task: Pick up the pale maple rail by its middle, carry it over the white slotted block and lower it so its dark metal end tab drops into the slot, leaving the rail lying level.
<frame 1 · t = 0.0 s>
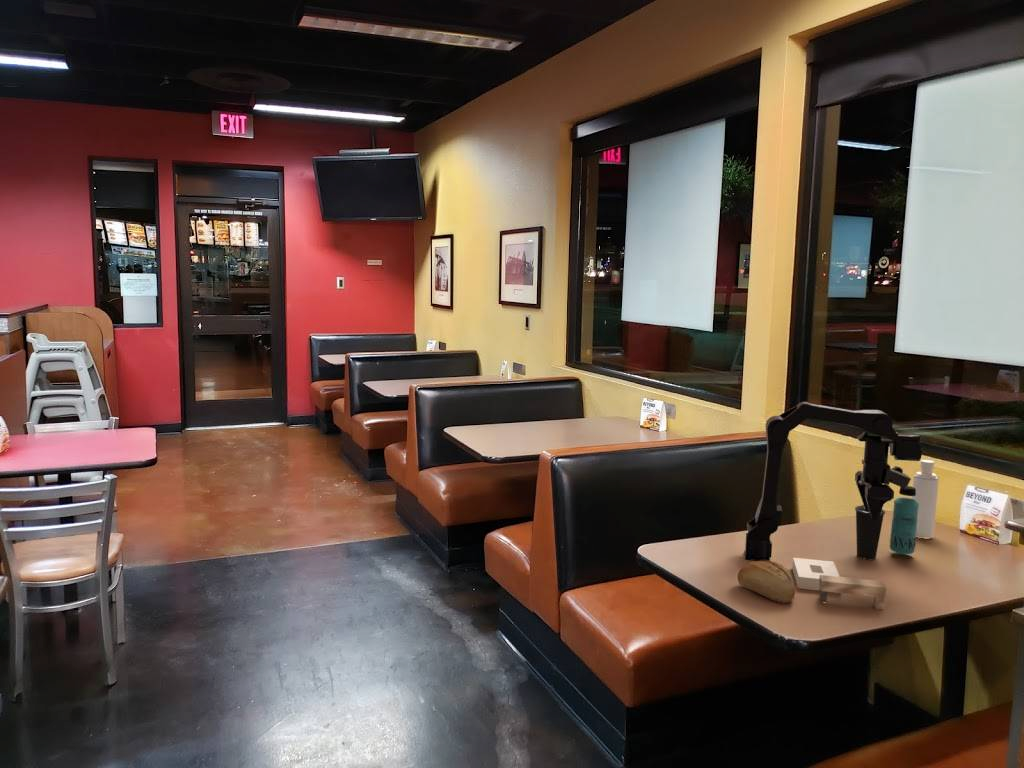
hand: (871, 515, 202), 15 cm above the table, tool pointing down, fingers open, 9 cm apart
white slotted block: (815, 580, 195), on the table
bread roll: (765, 595, 186), on the table
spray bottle: (920, 536, 232), on the table
rail: (850, 603, 181), on the table
drinking cup: (866, 557, 213), on the table
beverage bottle: (901, 556, 215), on the table
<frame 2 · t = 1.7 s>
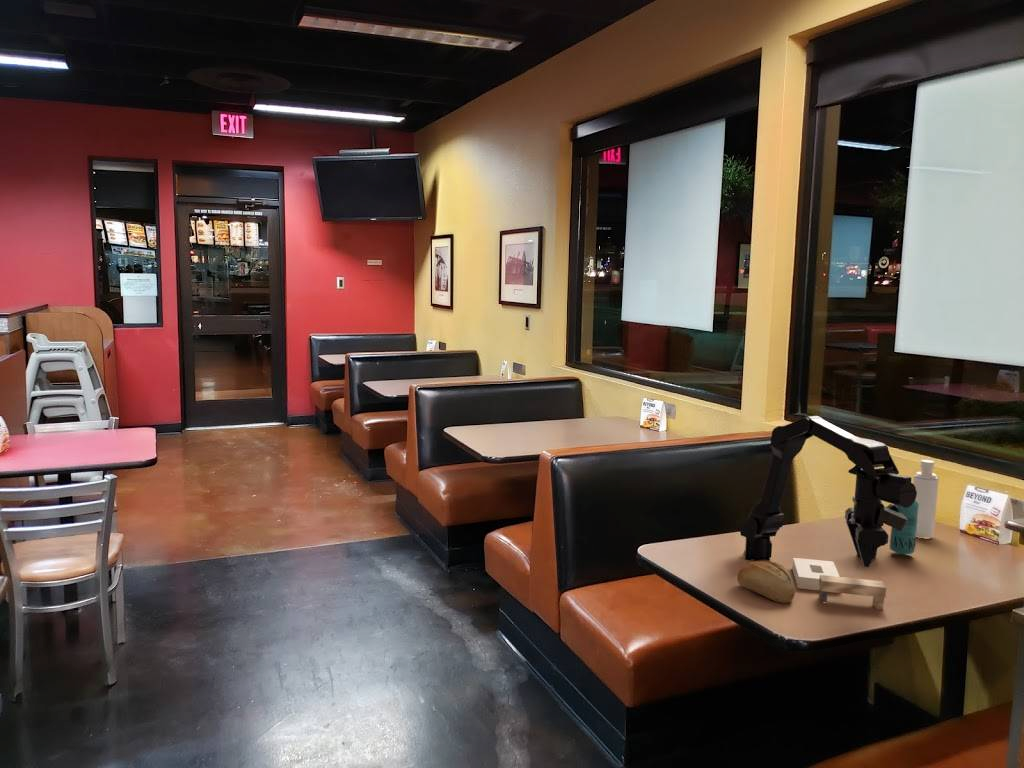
hand: (862, 559, 179), 11 cm above the table, tool pointing down, fingers open, 9 cm apart
nothing on the table moved.
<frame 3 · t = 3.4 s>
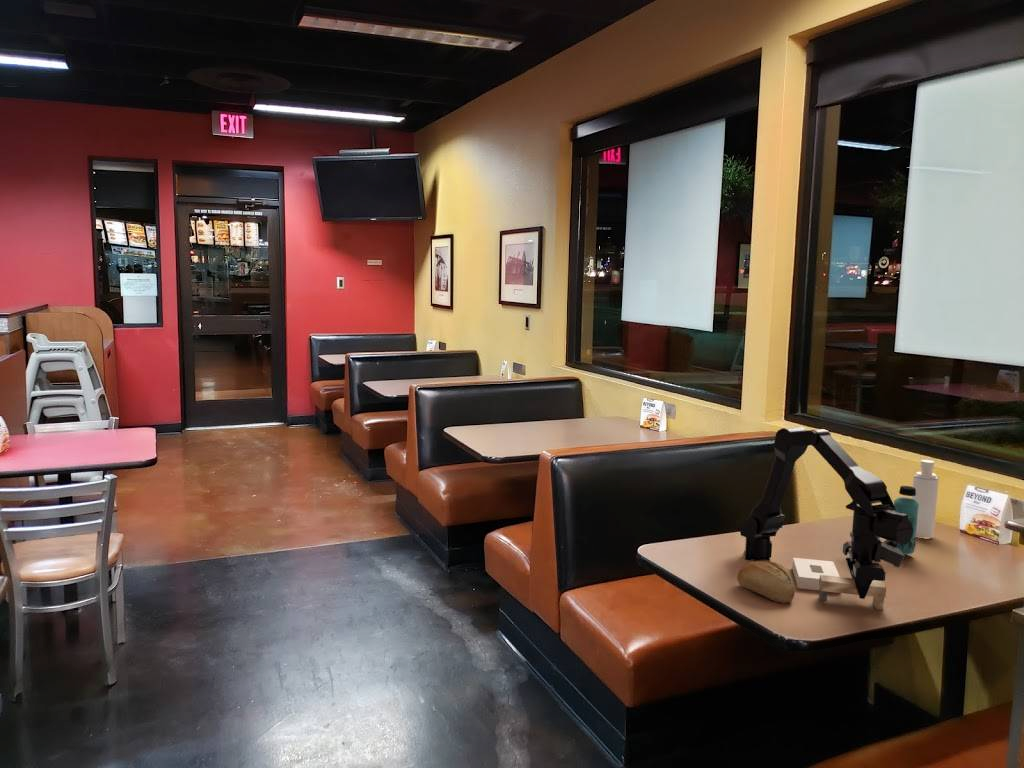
hand: (860, 594, 180), 2 cm above the table, tool pointing down, fingers closed on rail, 4 cm apart
rail: (850, 603, 181), on the table, touching gripper
everything else where it was.
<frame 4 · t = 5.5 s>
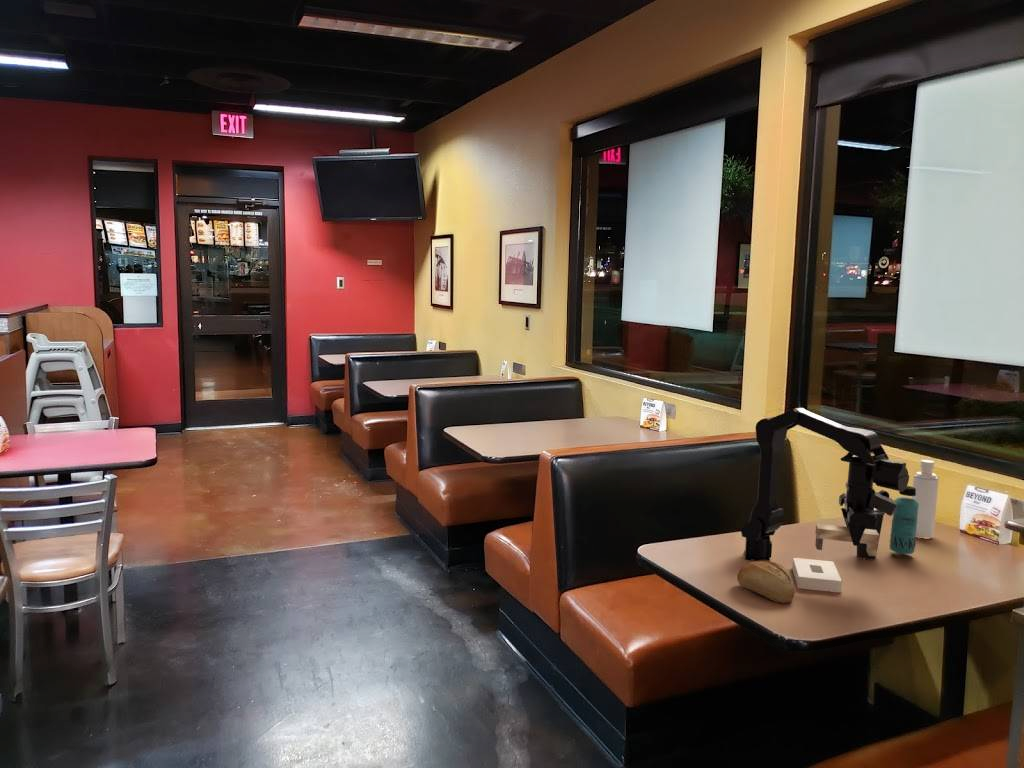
hand: (854, 542, 189), 12 cm above the table, tool pointing down, fingers closed on rail, 4 cm apart
rail: (845, 550, 190), point 10 cm above the table, touching gripper
everything else where it was.
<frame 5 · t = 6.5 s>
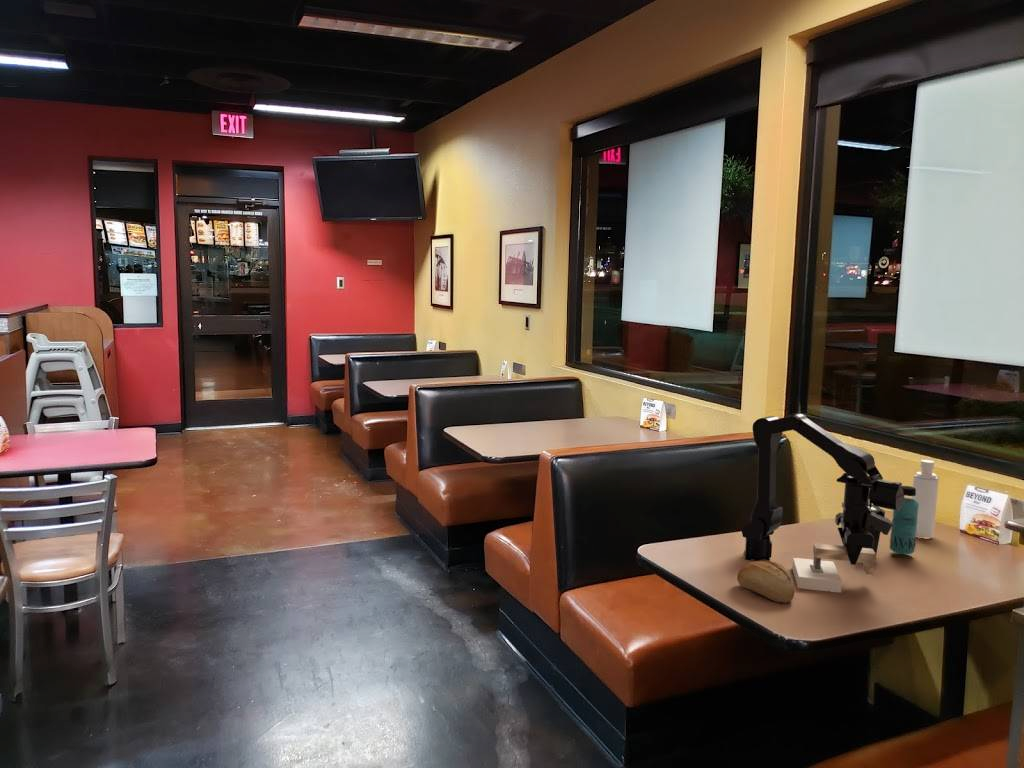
hand: (851, 561, 193), 6 cm above the table, tool pointing down, fingers closed on rail, 4 cm apart
rail: (842, 569, 193), point 4 cm above the table, touching gripper
everything else where it was.
when the fingers open (3 cm above the table, at t = 7.3 s): rail stays where it is, resting on white slotted block.
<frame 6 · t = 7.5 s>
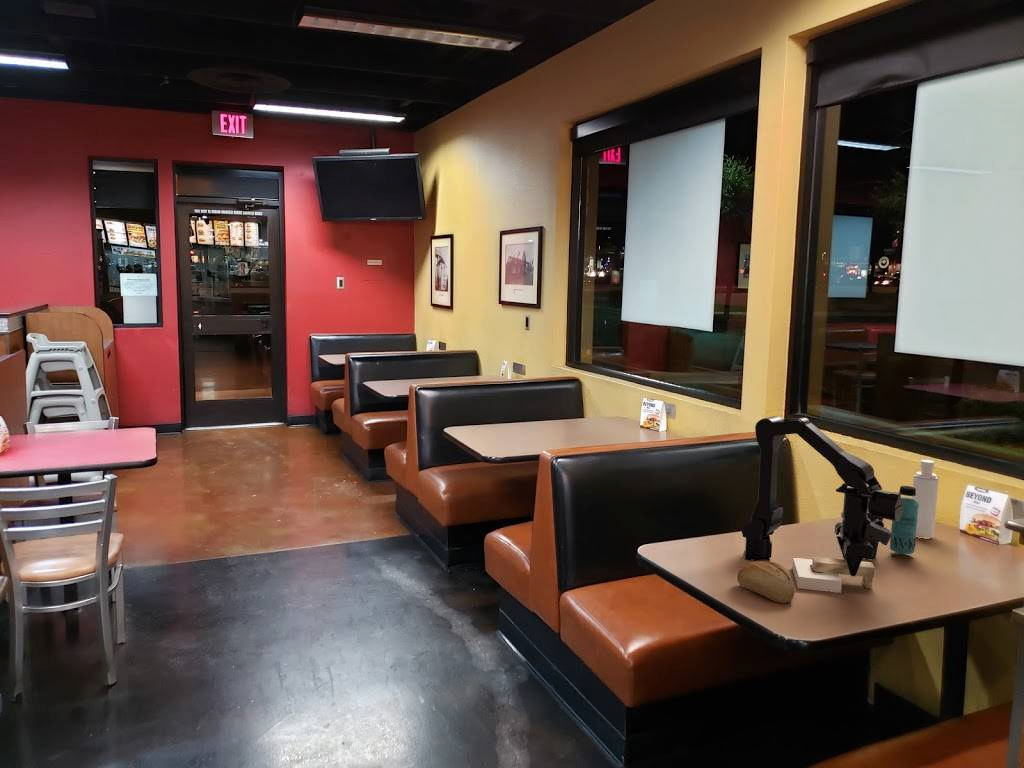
hand: (850, 571, 193), 3 cm above the table, tool pointing down, fingers open, 6 cm apart
rail: (841, 582, 194), resting on white slotted block
everything else where it was.
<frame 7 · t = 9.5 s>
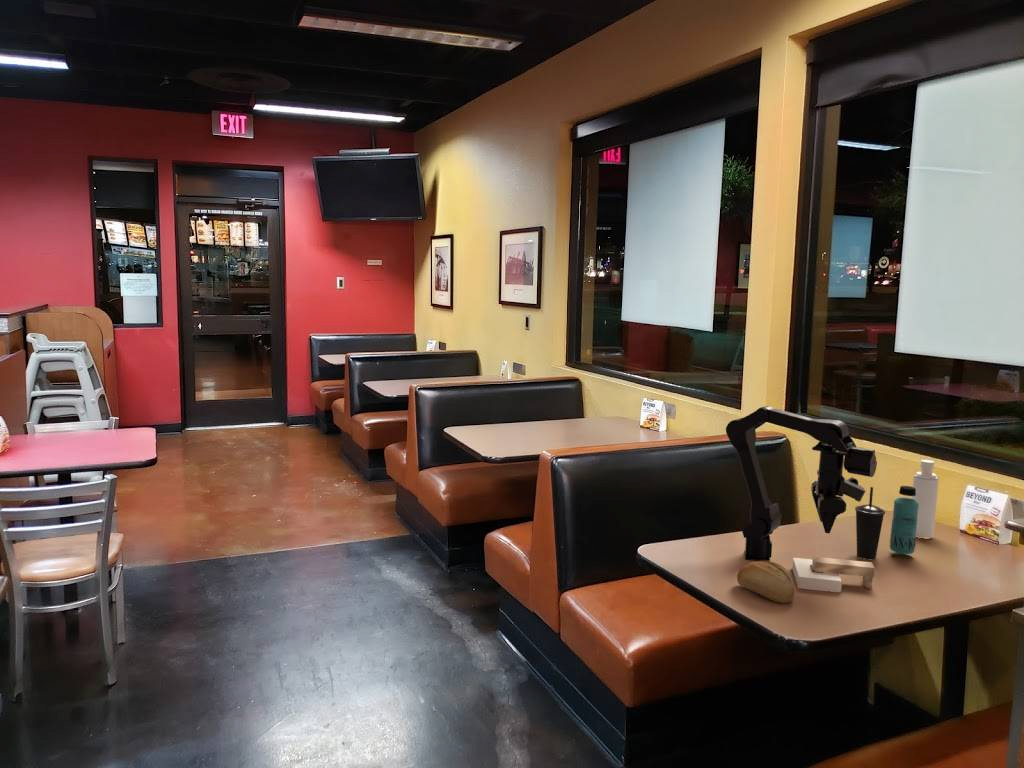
hand: (824, 527, 198), 13 cm above the table, tool pointing down, fingers open, 9 cm apart
nothing on the table moved.
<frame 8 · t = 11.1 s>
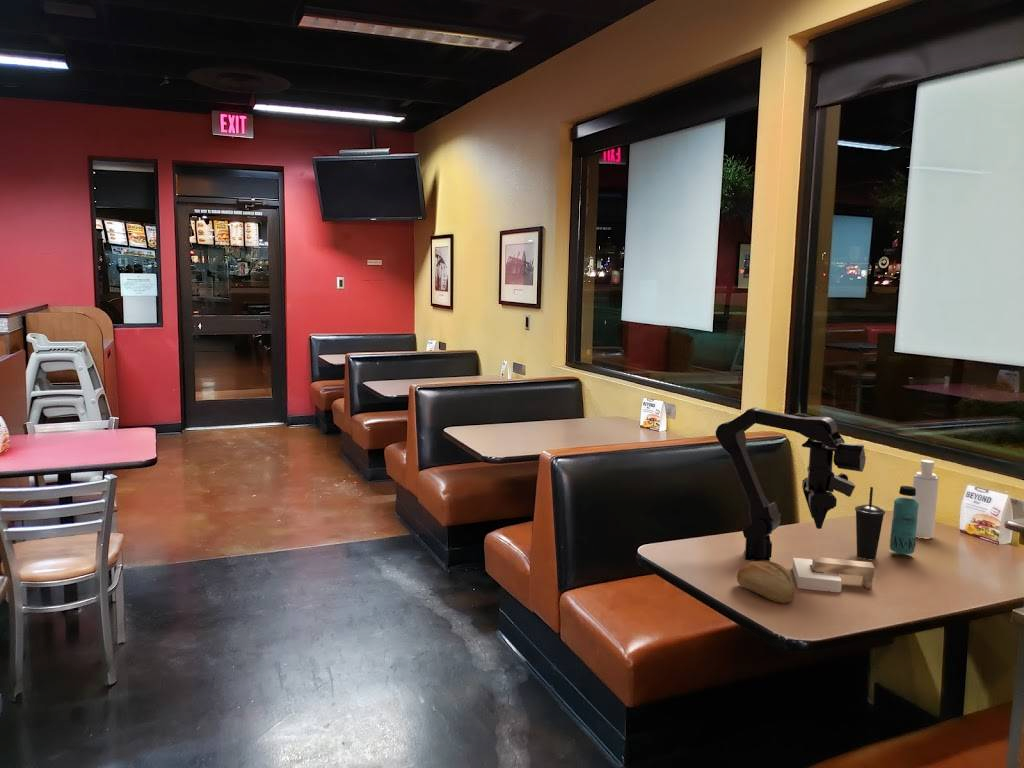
hand: (816, 523, 200), 13 cm above the table, tool pointing down, fingers open, 9 cm apart
nothing on the table moved.
at the end: rail 0.0 cm from the target spot on the table beside the white slotted block, on the table; rail tilted 0°; the gripper is holding nothing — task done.
